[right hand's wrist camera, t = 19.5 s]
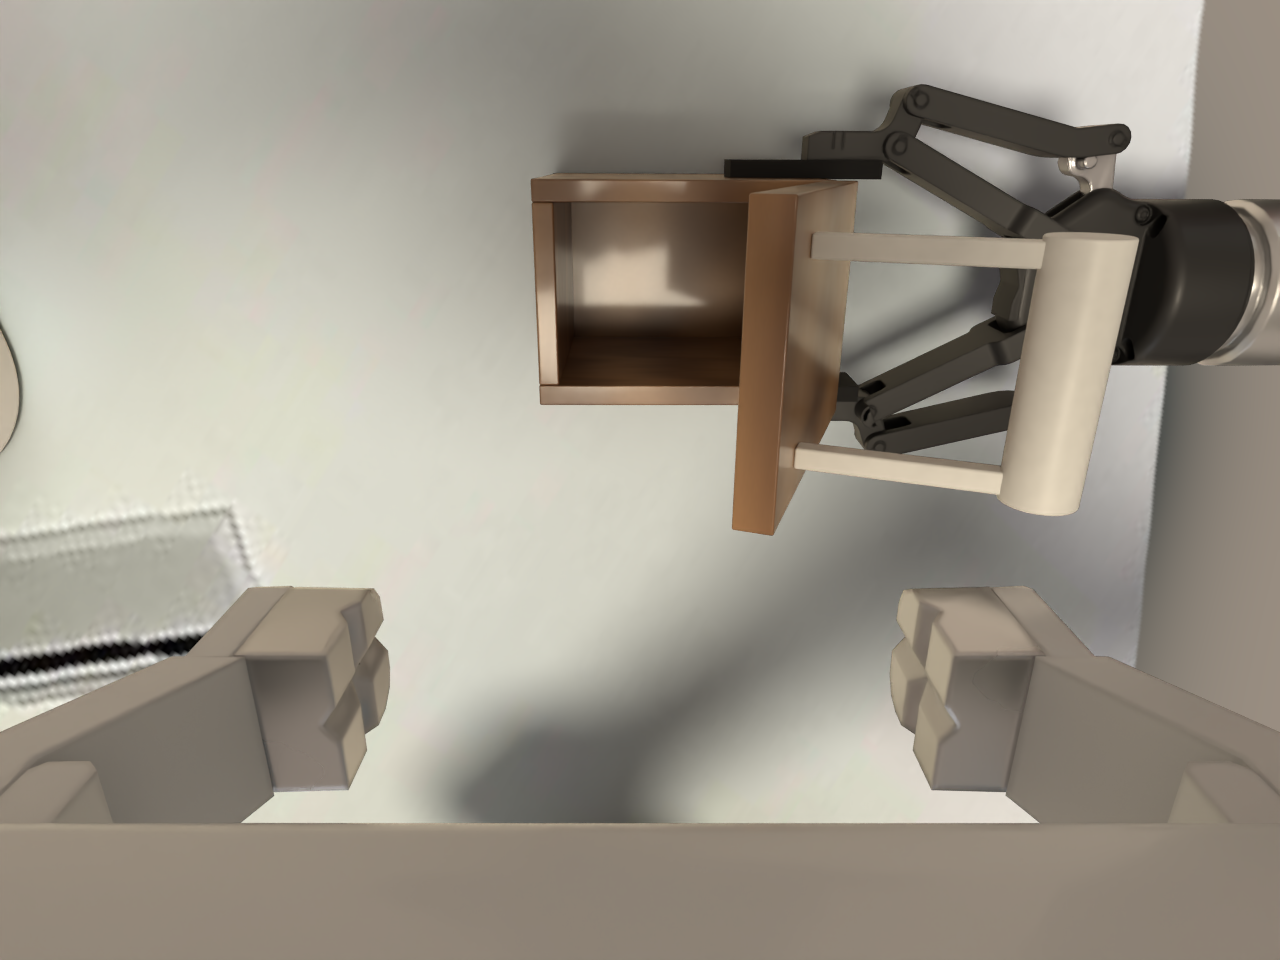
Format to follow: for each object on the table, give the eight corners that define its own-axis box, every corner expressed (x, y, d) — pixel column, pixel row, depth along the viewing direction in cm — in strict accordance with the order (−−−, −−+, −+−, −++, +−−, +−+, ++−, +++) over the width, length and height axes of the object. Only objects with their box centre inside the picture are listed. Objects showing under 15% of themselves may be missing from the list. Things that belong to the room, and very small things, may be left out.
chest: (560, 348, 46) (539, 405, 35) (554, 173, 42) (530, 178, 32) (775, 349, 46) (818, 405, 35) (787, 174, 42) (838, 179, 32)
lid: (731, 529, 23) (1085, 585, 21) (748, 193, 20) (1176, 201, 17) (806, 408, 35) (1040, 432, 32) (826, 180, 32) (1090, 184, 29)
